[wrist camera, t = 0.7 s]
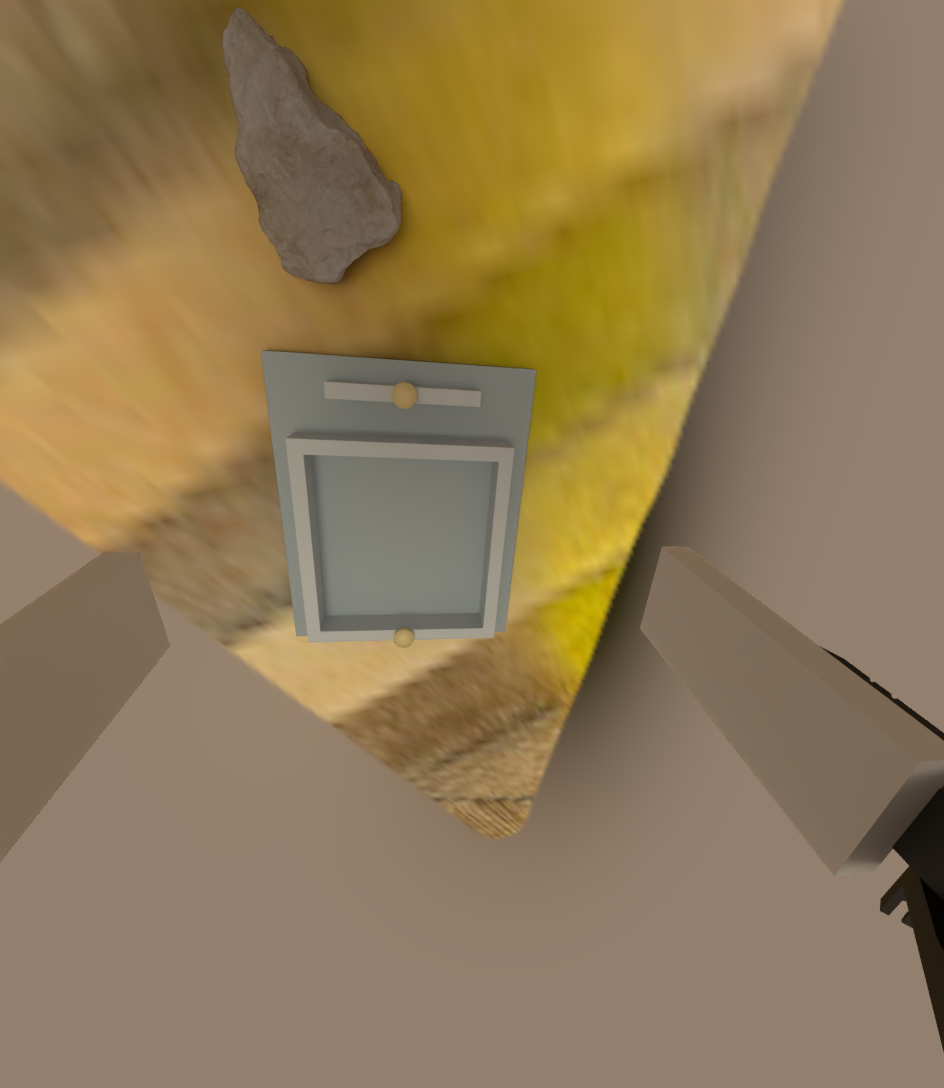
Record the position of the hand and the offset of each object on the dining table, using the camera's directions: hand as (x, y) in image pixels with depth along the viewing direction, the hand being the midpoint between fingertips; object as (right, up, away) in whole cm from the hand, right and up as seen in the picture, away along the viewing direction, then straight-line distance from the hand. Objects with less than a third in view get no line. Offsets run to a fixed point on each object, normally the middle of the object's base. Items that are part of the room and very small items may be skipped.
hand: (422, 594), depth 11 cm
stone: (-7, +22, +14) cm, 27 cm away
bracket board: (-4, +4, +22) cm, 23 cm away
